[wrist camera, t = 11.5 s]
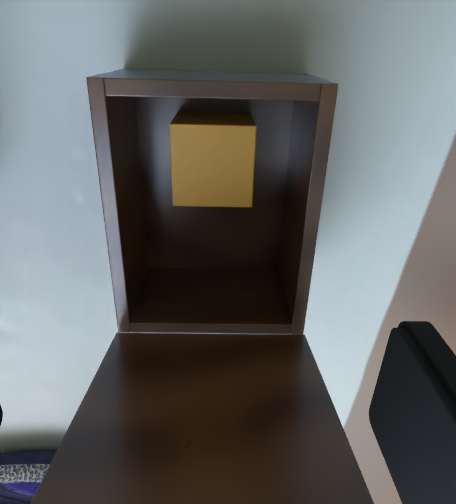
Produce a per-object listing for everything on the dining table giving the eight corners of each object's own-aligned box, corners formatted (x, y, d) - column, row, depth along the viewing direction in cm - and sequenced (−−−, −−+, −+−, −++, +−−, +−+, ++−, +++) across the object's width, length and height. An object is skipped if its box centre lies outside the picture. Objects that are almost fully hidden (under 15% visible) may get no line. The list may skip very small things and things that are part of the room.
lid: (-40, 638, 11) (-10, 750, 13) (428, 634, 12) (400, 744, 13) (116, 332, 28) (120, 397, 30) (304, 334, 28) (299, 398, 30)
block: (177, 111, 29) (169, 123, 24) (251, 112, 29) (256, 125, 25) (179, 182, 32) (172, 206, 27) (247, 183, 32) (252, 207, 27)
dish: (-80, 432, 46) (-113, 474, 41) (188, 443, 47) (185, 484, 43) (-49, 512, 53) (-74, 555, 48) (184, 519, 54) (181, 561, 50)
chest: (123, 68, 29) (85, 77, 21) (306, 73, 29) (338, 83, 21) (140, 270, 36) (118, 333, 28) (285, 273, 37) (303, 335, 29)
